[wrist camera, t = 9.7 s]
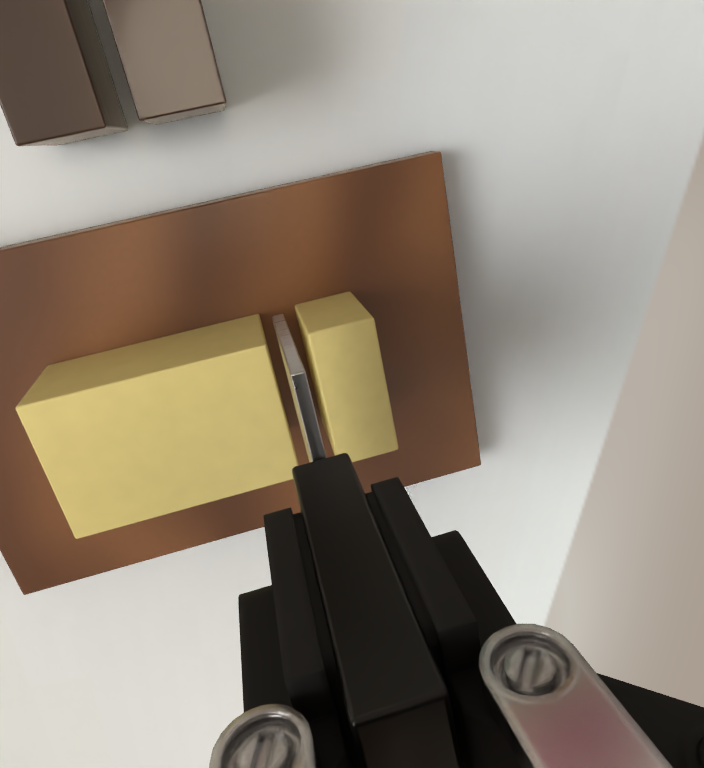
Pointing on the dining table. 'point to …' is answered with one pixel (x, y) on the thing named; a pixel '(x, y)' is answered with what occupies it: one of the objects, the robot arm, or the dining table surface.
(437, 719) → the knife
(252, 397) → the butter
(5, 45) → the knife block
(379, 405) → the butter slice
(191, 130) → the dining table surface
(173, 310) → the board
